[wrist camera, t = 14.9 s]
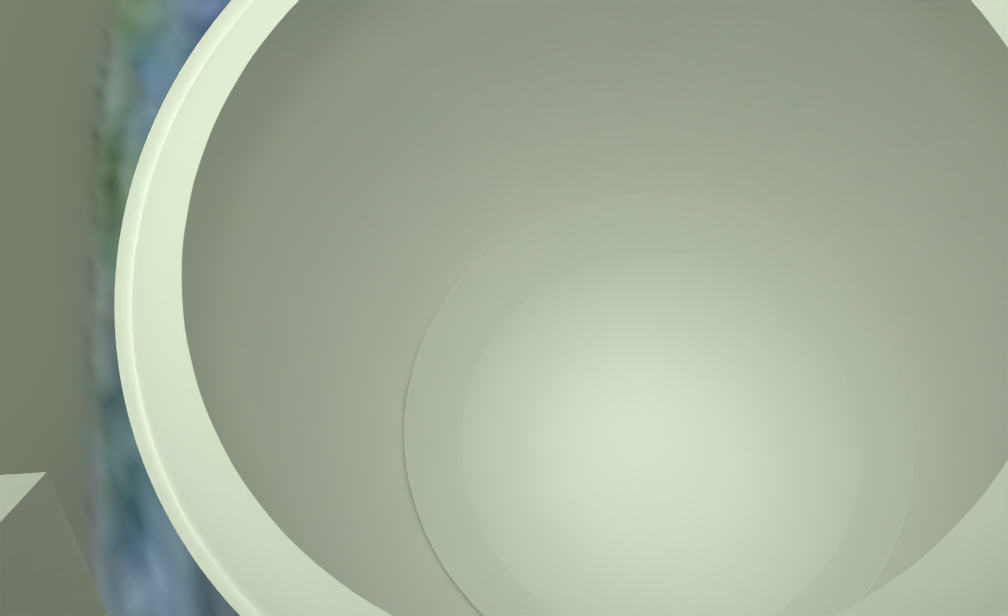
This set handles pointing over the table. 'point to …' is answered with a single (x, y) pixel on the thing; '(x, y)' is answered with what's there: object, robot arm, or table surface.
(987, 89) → the jar
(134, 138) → the table surface
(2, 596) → the robot arm
